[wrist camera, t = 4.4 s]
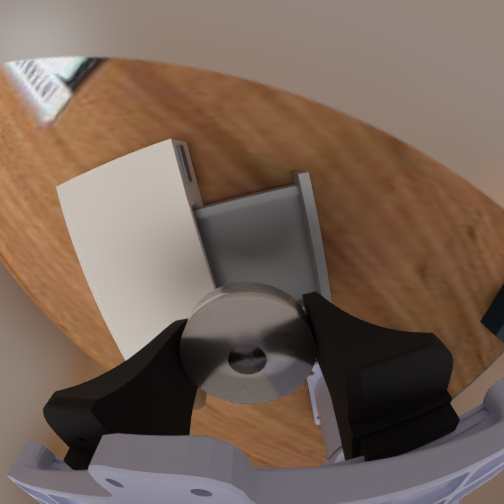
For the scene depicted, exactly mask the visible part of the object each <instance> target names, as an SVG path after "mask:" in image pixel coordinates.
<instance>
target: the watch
mask: <svg viewBox="0 0 504 504" xmlns="http://www.w3.org/2000/svg"><path fill="white" fill-rule="evenodd" d="M481 323H482V324H483V325H484V326H485V327H486V328H487V329H489V330H490V331H491V332H492V333H493V334H494V335H495V336H496V337H497V338H498V339H500V340H501V341H502V342H503V343H504V284H503V286H502V288H501V290H500V291H499V293H498V295H497V296H496V298H495V300H494V301H493V303H492V305H491V306H490V308H489V309H488V311H487V312H486V314H485V316H484V317H483V319H482V320H481Z"/></svg>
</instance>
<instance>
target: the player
mask: <svg viewBox="0 0 504 504" xmlns="http://www.w3.org/2000/svg"><path fill="white" fill-rule="evenodd" d="M56 189H57V192H58V196H59V200H60V204H61V207H62V211H63V214H64V217H65V221H66V224H67V227H68V230H69V233H70V236H71V239H72V242H73V245H74V248H75V251H76V253H77V256H78V259H79V262H80V264H81V267H82V269H83V272H84V275H85V277H86V279H87V282H88V284H89V287H90V289H91V291H92V294H93V296H94V298H95V301H96V303H97V305H98V307H99V309H100V312H101V314H102V316H103V318H104V320H105V322H106V324H107V326H108V328H109V330H110V332H111V334H112V336H113V338H114V340H115V342H116V344H117V346H118V348H119V349H120V351H121V353H122V355H123V357H124V359H125V360H127V359H129V358H130V357H132V356H133V355H134V354H136V353H137V352H138V351H139V350H141V349H142V348H143V347H144V346H145V345H147V344H148V343H149V342H150V341H151V340H153V339H154V338H155V337H156V336H157V335H158V334H159V333H161V332H162V331H163V330H164V329H165V328H166V327H168V326H169V325H170V324H171V323H173V322H174V321H176V320H182V319H187V318H188V319H189V316H190V314H191V312H192V310H193V308H194V307H195V306H196V304H197V303H198V302H199V301H200V300H201V299H202V298H203V297H204V296H205V295H207V294H208V293H209V292H211V291H213V290H215V289H216V286H215V283H214V279H213V276H212V273H211V270H210V267H209V264H208V260H207V257H206V254H205V251H204V247H203V244H202V241H201V237H200V234H199V231H198V227H197V224H196V220H195V217H194V213H193V210H192V209H193V208H197V207H200V206H204V205H203V202H202V198H201V195H200V191H199V187H198V184H197V180H196V176H195V172H194V169H193V165H192V161H191V157H190V154H189V150H188V146H187V142H184V141H180V140H175V139H168V140H165V141H162V142H159V143H157V144H154V145H151V146H148V147H146V148H143V149H140V150H138V151H135V152H132V153H130V154H127V155H125V156H122V157H120V158H118V159H115V160H113V161H110V162H108V163H106V164H103V165H101V166H99V167H97V168H94V169H92V170H90V171H88V172H86V173H84V174H81V175H79V176H77V177H75V178H73V179H71V180H69V181H67V182H65V183H63V184H61V185H59V186H57V187H56Z"/></svg>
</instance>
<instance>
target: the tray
mask: <svg viewBox="0 0 504 504" xmlns="http://www.w3.org/2000/svg"><path fill="white" fill-rule="evenodd" d="M292 176H293V181H294V184H290V185H286V186H281V187H277V188H272V189H268V190H264V191H260V192H255V193H251V194H247V195H243V196H239V197H235V198H231V199H227V200H223V201H219V202H215V203H212V204H208V205H204V206H200V207H197V208H193V209H192V210H193V213H194V217H195V220H196V224H197V227H198V231H199V234H200V237H201V241H202V244H203V247H204V251H205V254H206V257H207V260H208V264H209V267H210V270H211V273H212V276H213V279H214V283H215V286H216V289H217V288H219V287H221V286H224V285H228V284H231V283H238V282H258V283H263V284H268V285H271V286H274V287H276V288H278V289H280V290H283V291H284V292H286V293H287V294H289V295H290V296H292V297H293V298H294V299H295V300H296V301H297V302H298V303H299V304H300V305H301V307H302V308H303V310H304V311H305V308H304V303H303V298H302V294H306V293H311V292H315V291H316V292H318V293H319V294H321V295H322V296H323V297H324V298H326V299H327V300H328V301H329V302H331V303H332V299H331V292H330V285H329V279H328V272H327V266H326V260H325V253H324V248H323V242H322V236H321V231H320V225H319V220H318V215H317V210H316V205H315V200H314V195H313V190H312V185H311V181H310V176H309V172H307V171H302V170H298V171H293V172H292Z"/></svg>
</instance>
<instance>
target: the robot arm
mask: <svg viewBox="0 0 504 504" xmlns="http://www.w3.org/2000/svg"><path fill="white" fill-rule="evenodd" d="M302 298H303V303H304V308H305V313H306V315H307V318H308V321H309V324H310V327H311V331H312V334H313V337H314V341H315V345H316V359H317V361H318V362H315V363H314V367H313V369H312V371H313V372H312V373H310V375H309V376H308V378H307V382H308V387H309V392H310V398H311V403H312V409H313V414H314V420H315V424H316V425H321V430H322V435H323V440H324V445H325V450H326V455H327V461H325V462H323V463H321V464H320V465H321V466H320V467H306V468H259V467H257V468H256V467H253V466H252V465H251V464H250V462H249V460H248V459H247V457H246V455H245V454H244V453H242V452H241V451H240V450H239V449H237V448H236V447H235V446H234V445H232V444H231V443H228V442H225V441H222V440H219V439H216V438H214V437H204V436H194V435H189V434H190V423H191V416H192V410H193V406H194V402H195V398H196V393H197V389H198V386H197V385H196V384H195V383H194V382H193V381H192V380H191V379H190V377H189V376H188V375H187V373H186V371H185V370H184V368H183V365H182V363H181V359H180V352H179V347H180V340H181V337H182V334H183V331H184V329H185V326H186V324H187V321H188V318H187V319H182V320H176V321H174V322H173V323H171V324H170V325H169V326H168V327H166V328H165V329H164V330H163V331H162V332H161V333H159V334H158V335H157V336H156V337H155V338H154V339H153V340H151V341H150V342H149V343H148V344H147V345H145V346H144V347H143V348H142V349H141V350H139V351H138V352H137V353H136V354H134V355H133V356H132V357H130V358H129V359H127V360H126V361H125V362H123V363H121V364H120V365H118V366H117V367H115V368H113V369H112V370H110V371H108V372H106V373H104V374H102V375H100V376H98V377H96V378H94V379H92V380H89V381H87V382H84V383H82V384H79V385H76V386H73V387H70V388H67V389H63V390H60V391H56V392H55V393H54V394H53V395H52V396H51V398H50V399H49V401H48V402H47V404H46V405H45V407H44V409H43V414H44V417H45V419H46V421H47V423H48V424H49V425H50V427H51V428H52V429H53V430H54V432H55V433H56V434H57V435H58V436H59V437H60V438H61V439H62V440H63V441H64V442H65V443H66V444H67V446H68V447H70V448H69V450H68V452H67V454H66V456H65V458H64V459H62V458H59V457H56V456H55V455H54V454H53V453H52V452H51V451H50V450H49V449H48V448H47V447H46V446H44V445H43V444H41V443H38V442H35V441H32V440H27V441H26V443H25V445H24V446H23V448H22V449H21V451H20V453H19V454H18V456H17V458H16V459H15V461H14V463H13V465H12V466H11V468H10V470H9V471H8V474H7V476H8V477H9V478H10V479H11V480H12V481H13V482H15V483H16V484H17V485H18V486H19V487H20V488H22V489H23V490H24V491H25V492H27V493H28V494H29V495H30V496H32V497H33V498H34V499H36V500H37V501H38V502H40V503H41V504H460V502H459V500H460V499H461V498H462V497H464V496H465V495H467V494H468V493H470V492H471V491H473V490H475V489H476V488H478V487H479V486H481V485H482V484H484V483H485V482H487V481H488V480H489V479H491V478H492V477H494V476H495V475H496V474H498V473H499V472H501V471H502V470H503V469H504V378H502V379H501V380H499V381H498V382H496V383H495V384H494V385H492V386H491V387H490V388H489V390H488V391H487V393H486V395H485V397H484V400H483V403H482V404H481V405H479V406H477V407H476V408H474V409H472V410H471V411H469V412H467V413H465V414H463V415H461V416H459V417H458V415H457V414H456V412H455V410H454V409H453V407H452V406H451V404H450V402H451V401H452V398H451V396H450V394H449V393H448V391H447V388H448V384H449V381H450V377H451V373H452V369H453V357H452V354H451V353H450V351H449V350H448V349H447V348H446V346H445V345H444V344H443V343H442V342H441V341H440V340H439V339H438V338H437V337H436V336H435V335H434V334H433V333H419V332H406V331H399V330H393V329H388V328H384V327H381V326H377V325H374V324H371V323H368V322H365V321H363V320H360V319H358V318H356V317H354V316H352V315H350V314H348V313H346V312H344V311H343V310H341V309H340V308H338V307H337V306H335V305H334V304H332V303H331V302H329V301H328V300H327V299H326V298H324V297H323V296H322V295H321V294H319V293H318V292H316V291H315V292H311V293H306V294H302Z"/></svg>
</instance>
